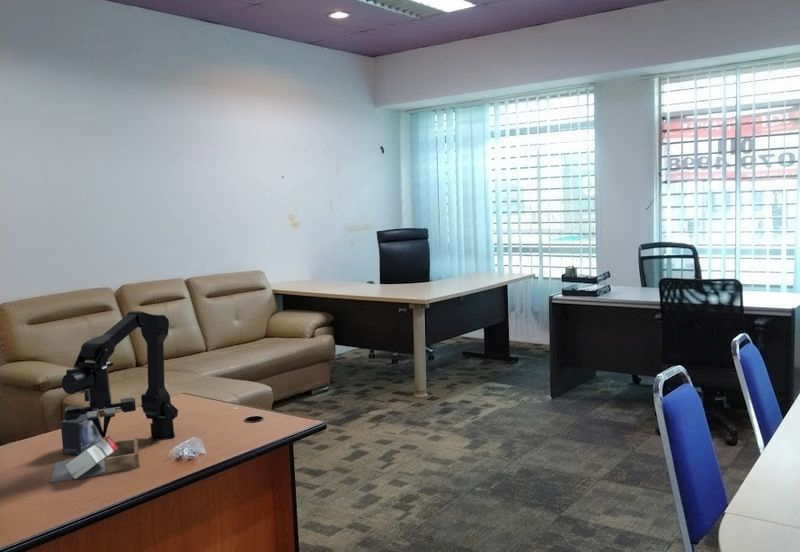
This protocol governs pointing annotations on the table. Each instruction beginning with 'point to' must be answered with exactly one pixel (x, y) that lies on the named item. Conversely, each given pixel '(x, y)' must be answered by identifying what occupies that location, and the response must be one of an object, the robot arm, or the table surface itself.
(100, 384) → the robot arm
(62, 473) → the felt pad
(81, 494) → the table surface
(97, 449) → the ink box
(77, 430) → the small box
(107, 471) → the corral
